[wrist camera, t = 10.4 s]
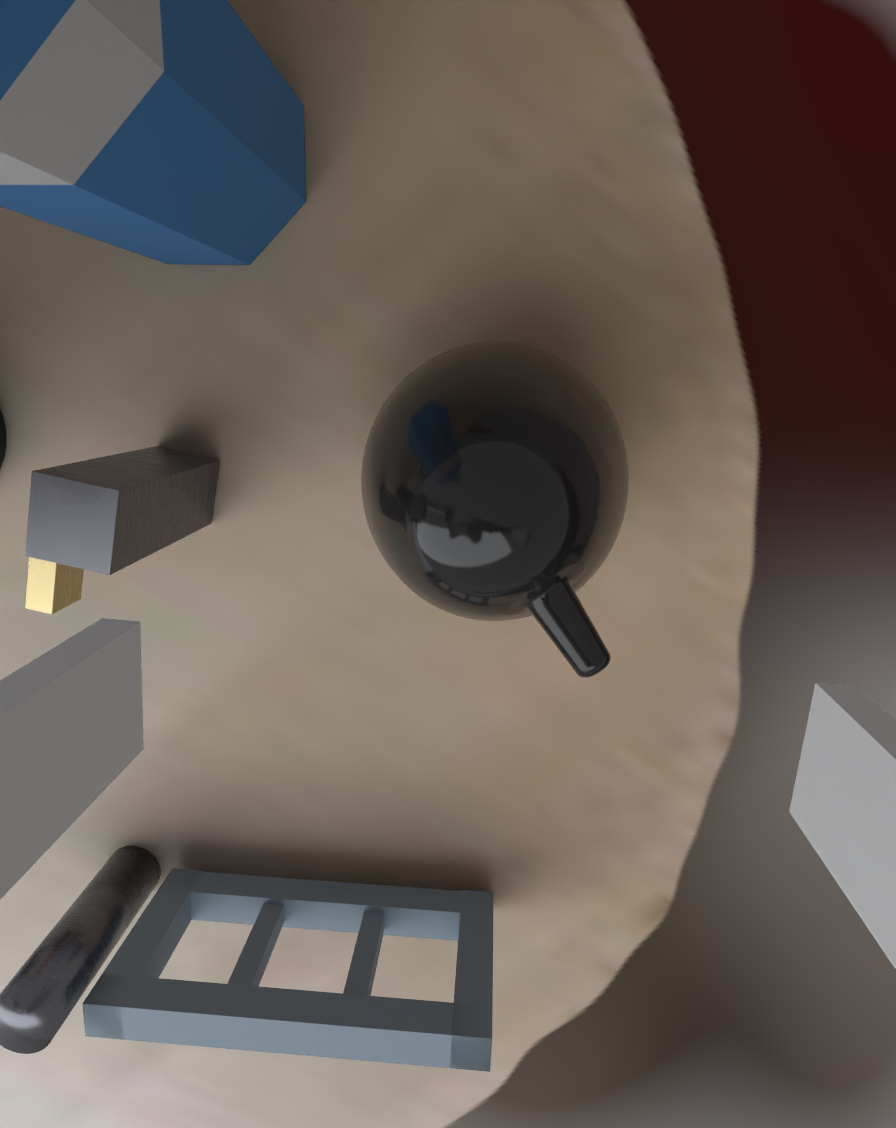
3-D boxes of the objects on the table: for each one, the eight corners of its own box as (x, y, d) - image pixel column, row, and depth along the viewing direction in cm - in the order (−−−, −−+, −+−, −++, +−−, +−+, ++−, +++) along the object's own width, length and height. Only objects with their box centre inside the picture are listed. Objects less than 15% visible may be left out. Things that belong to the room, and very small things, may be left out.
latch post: (132, 555, 36) (6, 617, 27) (145, 443, 35) (17, 468, 26) (204, 571, 36) (102, 639, 27) (220, 460, 35) (118, 490, 26)
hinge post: (106, 885, 41) (-16, 1044, 31) (111, 841, 40) (-12, 989, 30) (157, 897, 41) (50, 1060, 31) (163, 853, 40) (56, 1005, 30)
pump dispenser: (470, 619, 36) (450, 787, 21) (336, 437, 34) (214, 483, 20) (656, 495, 34) (777, 585, 19) (524, 296, 32) (544, 229, 18)
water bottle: (55, 87, 32) (-1413, -875, 7) (256, -15, 30) (-729, -1608, 6) (155, 307, 33) (-752, 122, 9) (348, 220, 32) (-117, -267, 8)
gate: (172, 868, 39) (82, 1003, 31) (493, 892, 38) (492, 1038, 30) (173, 895, 40) (85, 1036, 31) (491, 919, 39) (490, 1071, 30)
